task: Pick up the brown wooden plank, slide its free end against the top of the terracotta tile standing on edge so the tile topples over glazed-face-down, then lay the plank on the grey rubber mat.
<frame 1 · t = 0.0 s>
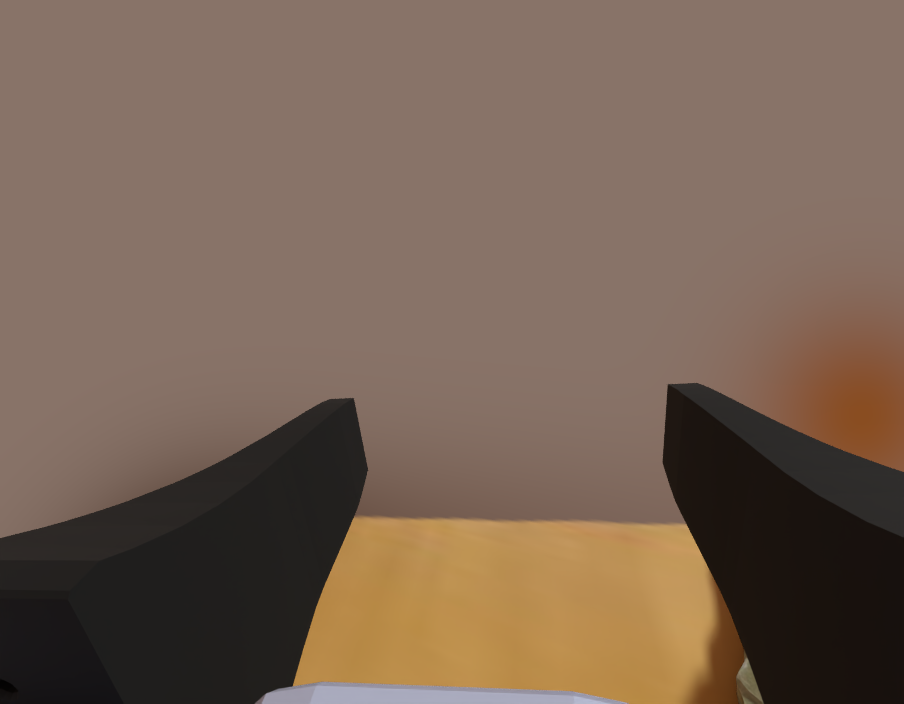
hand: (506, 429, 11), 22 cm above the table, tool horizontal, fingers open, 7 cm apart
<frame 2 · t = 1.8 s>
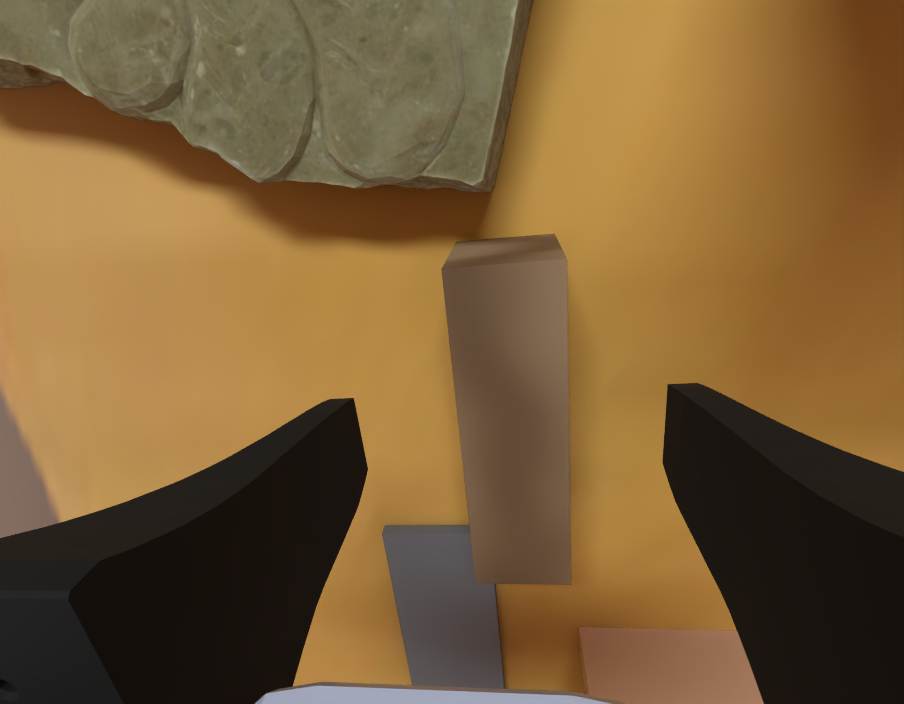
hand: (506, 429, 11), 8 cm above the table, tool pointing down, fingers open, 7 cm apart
mat: (450, 624, 26), on the table
brown wooden plank: (513, 384, 20), on the table
tile: (661, 642, 25), on the table
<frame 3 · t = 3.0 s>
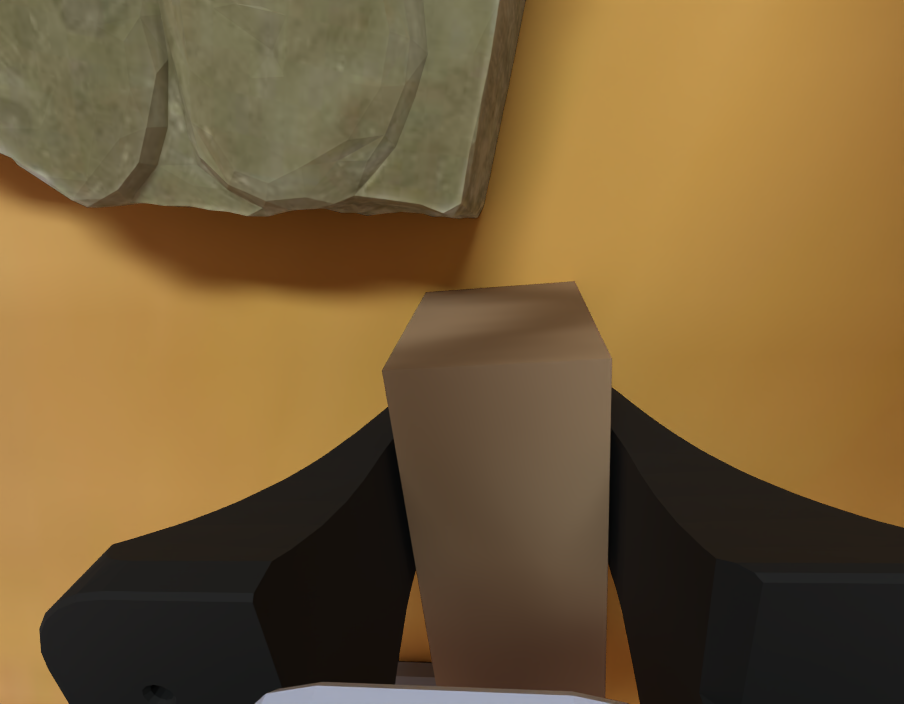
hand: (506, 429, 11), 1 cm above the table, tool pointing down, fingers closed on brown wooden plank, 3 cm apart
brown wooden plank: (513, 493, 14), on the table, touching gripper
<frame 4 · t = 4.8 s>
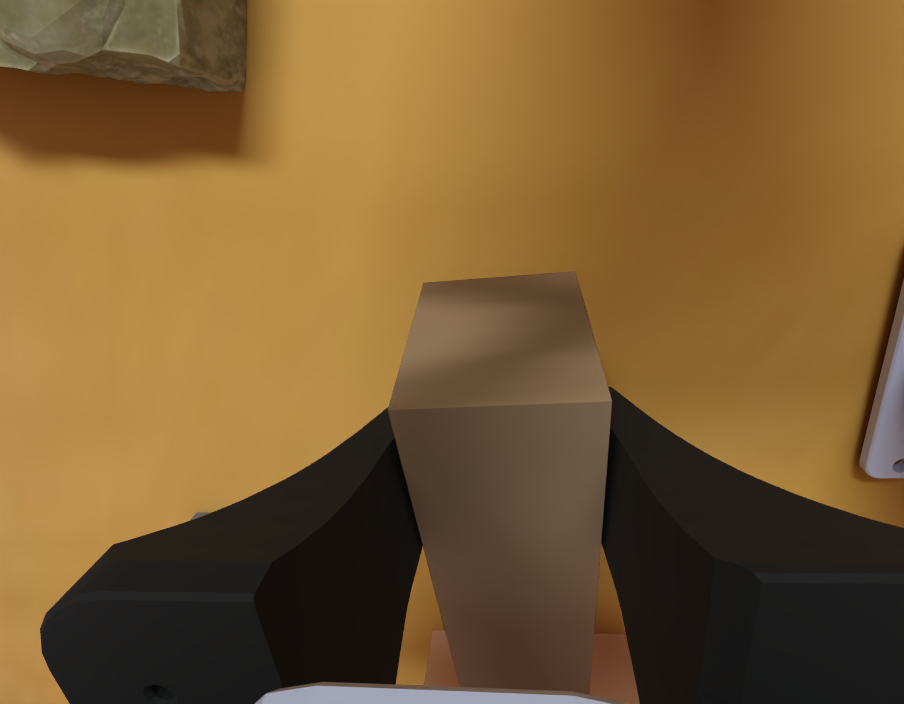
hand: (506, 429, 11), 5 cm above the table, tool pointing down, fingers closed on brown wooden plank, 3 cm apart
brown wooden plank: (512, 458, 15), point 2 cm above the table, tilted 12°, touching gripper
tile: (527, 647, 21), on the table
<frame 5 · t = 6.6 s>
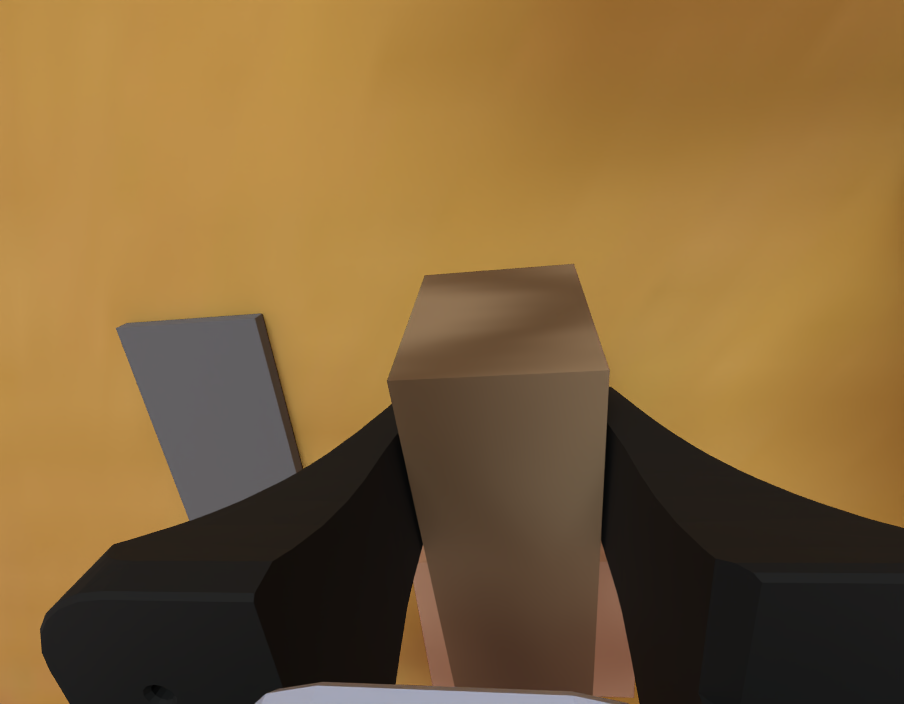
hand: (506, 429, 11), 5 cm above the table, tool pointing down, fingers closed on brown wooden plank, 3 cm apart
mat: (243, 477, 19), on the table
brown wooden plank: (512, 460, 15), point 2 cm above the table, tilted 8°, touching gripper
tile: (520, 541, 18), point 1 cm above the table, tilted 90°
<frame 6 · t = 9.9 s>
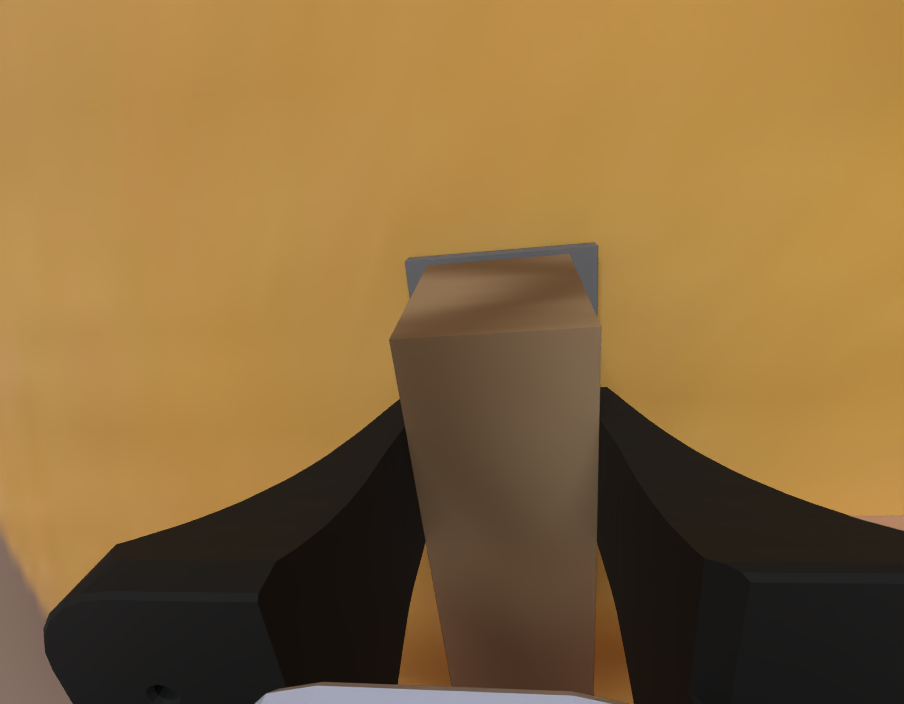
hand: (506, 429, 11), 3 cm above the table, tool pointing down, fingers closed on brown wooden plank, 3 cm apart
mat: (512, 454, 16), on the table
brown wooden plank: (511, 456, 15), point 1 cm above the table, touching gripper, mat
tile: (875, 528, 15), point 1 cm above the table, tilted 90°
when the fingers open (3 cm above the table, at t = 10.1 s): brown wooden plank stays where it is, resting on mat.
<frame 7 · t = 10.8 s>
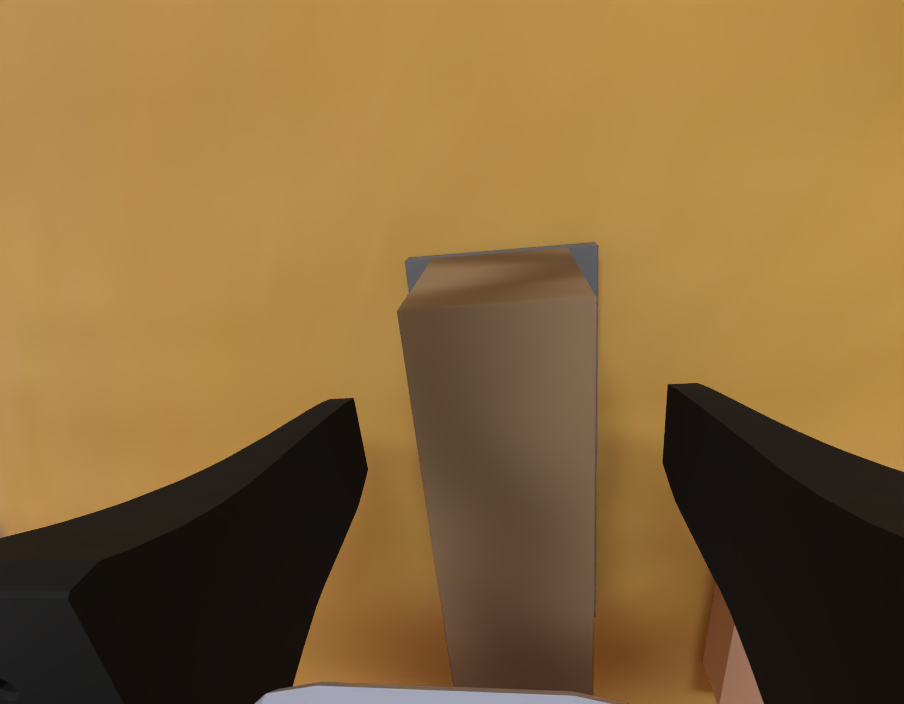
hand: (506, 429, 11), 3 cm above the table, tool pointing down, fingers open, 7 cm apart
mat: (512, 454, 16), on the table
brown wooden plank: (511, 449, 15), resting on mat
tile: (877, 526, 15), point 1 cm above the table, tilted 90°
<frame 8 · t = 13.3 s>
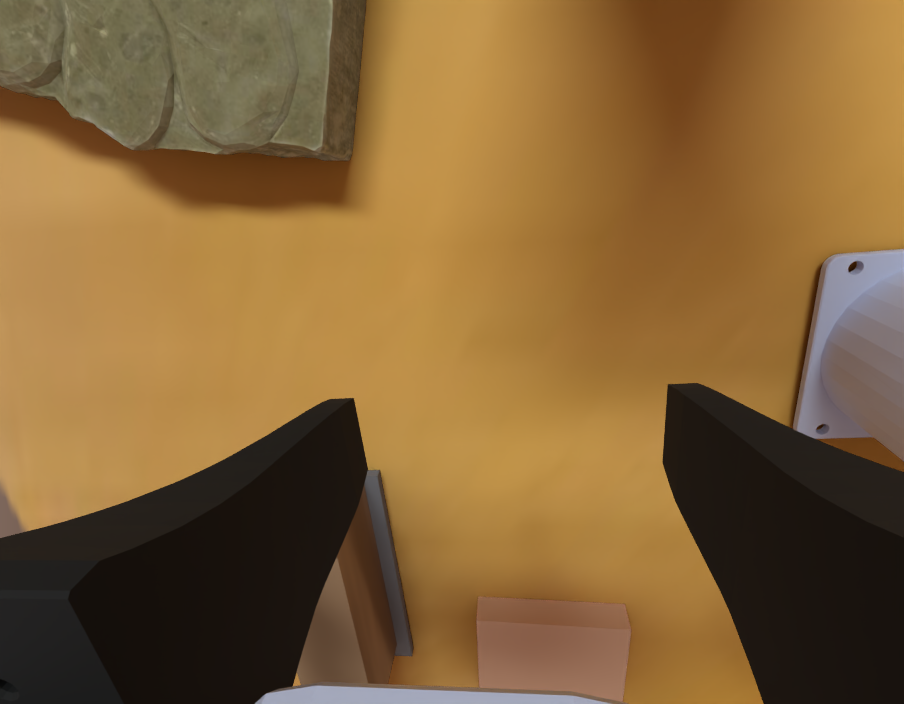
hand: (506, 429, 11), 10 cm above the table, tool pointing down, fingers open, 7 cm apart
mat: (354, 566, 28), on the table
brown wooden plank: (350, 566, 27), resting on mat
tile: (550, 608, 27), point 1 cm above the table, tilted 90°
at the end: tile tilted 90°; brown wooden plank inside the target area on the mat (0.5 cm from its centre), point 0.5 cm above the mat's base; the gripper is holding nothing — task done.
